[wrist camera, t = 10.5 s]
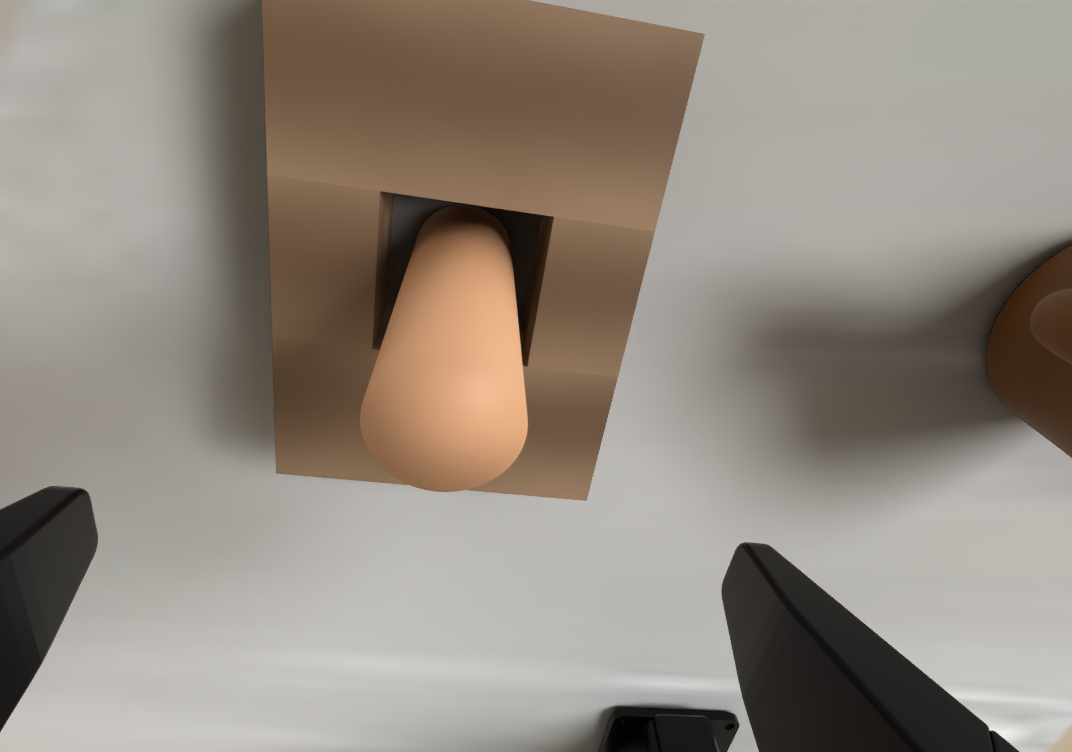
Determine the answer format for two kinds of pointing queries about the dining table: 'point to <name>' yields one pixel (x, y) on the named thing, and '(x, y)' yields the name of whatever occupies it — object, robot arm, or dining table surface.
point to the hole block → (462, 200)
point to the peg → (450, 360)
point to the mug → (1037, 351)
